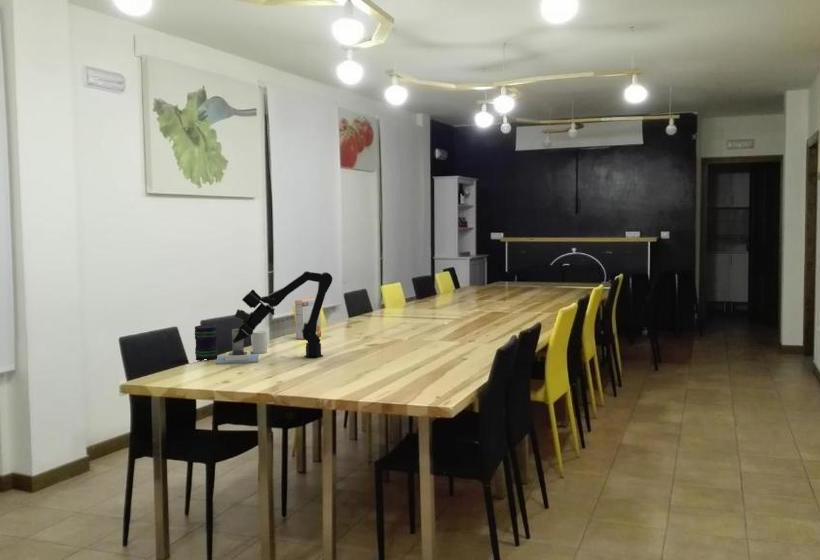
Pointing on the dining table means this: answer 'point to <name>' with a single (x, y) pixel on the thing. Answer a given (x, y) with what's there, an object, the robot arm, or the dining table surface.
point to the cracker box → (305, 316)
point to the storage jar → (206, 342)
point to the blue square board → (237, 358)
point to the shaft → (237, 344)
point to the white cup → (259, 341)
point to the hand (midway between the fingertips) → (234, 340)
